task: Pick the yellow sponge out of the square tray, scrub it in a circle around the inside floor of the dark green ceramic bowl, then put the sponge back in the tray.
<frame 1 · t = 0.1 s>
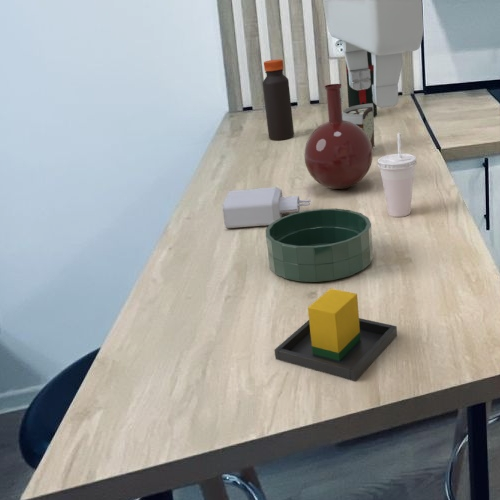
hand: (372, 96, 59), 29 cm above the table, tool pointing down, fingers open, 8 cm apart
food container: (357, 153, 153), on the table
square tray: (337, 350, 75), on the table
sponge: (336, 346, 75), resting on square tray
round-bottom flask: (340, 188, 130), on the table
basin: (321, 264, 98), on the table
wine bottle: (363, 117, 186), on the table
vinegar: (281, 138, 176), on the table
smoothie: (399, 214, 113), on the table
charger: (270, 219, 119), on the table
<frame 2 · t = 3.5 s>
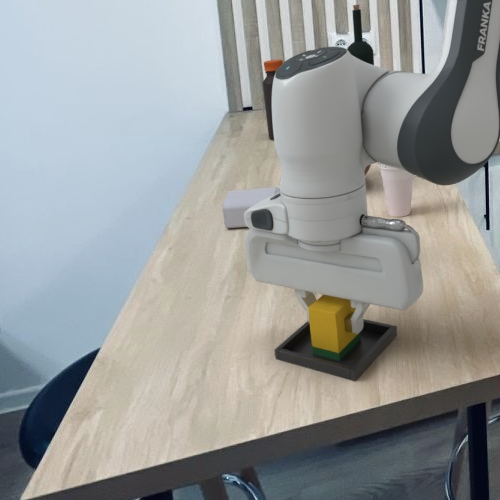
hand: (335, 326, 74), 3 cm above the table, tool pointing down, fingers closed on sponge, 3 cm apart
sponge: (337, 346, 75), resting on square tray, touching gripper
everything else where it was.
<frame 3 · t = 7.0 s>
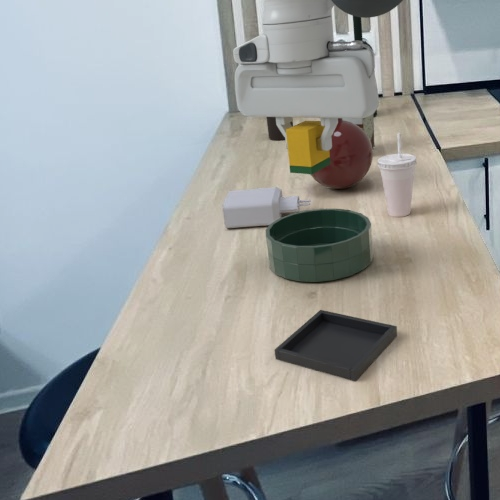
hand: (308, 149, 89), 18 cm above the table, tool pointing down, fingers closed on sponge, 3 cm apart
sponge: (310, 168, 90), point 15 cm above the table, touching gripper
everything else where it was.
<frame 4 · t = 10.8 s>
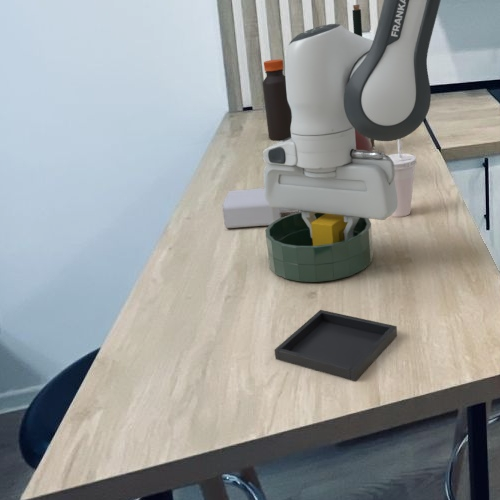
hand: (331, 239, 97), 3 cm above the table, tool pointing down, fingers closed on sponge, 3 cm apart
sponge: (332, 256, 98), point 1 cm above the table, touching gripper
everything else where it was.
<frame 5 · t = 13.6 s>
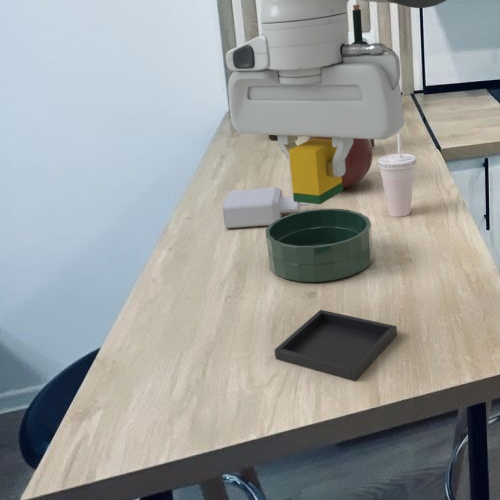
hand: (317, 173, 74), 19 cm above the table, tool pointing down, fingers closed on sponge, 3 cm apart
sponge: (318, 196, 75), point 17 cm above the table, touching gripper
everything else where it was.
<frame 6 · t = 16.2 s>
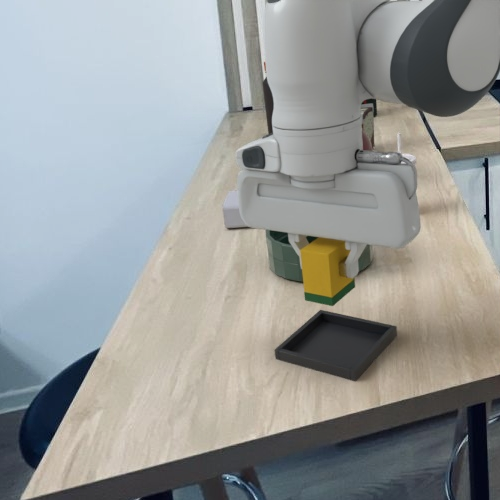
hand: (329, 271, 72), 10 cm above the table, tool pointing down, fingers closed on sponge, 3 cm apart
sponge: (330, 293, 72), point 7 cm above the table, touching gripper
everything else where it was.
when the fingers open (3 cm above the table, at t = 18.0 s): sponge stays where it is, resting on square tray.
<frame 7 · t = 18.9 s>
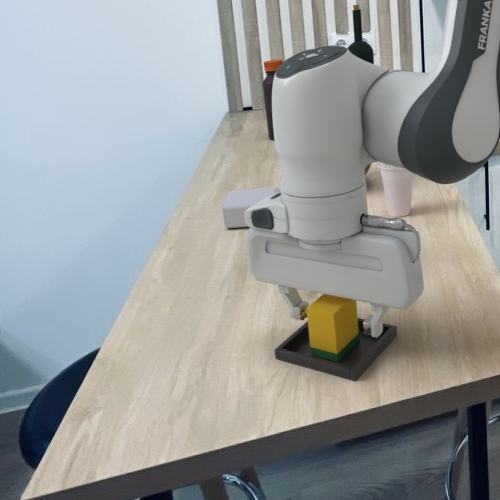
hand: (335, 325, 74), 3 cm above the table, tool pointing down, fingers open, 8 cm apart
sponge: (335, 347, 75), resting on square tray
everything else where it was.
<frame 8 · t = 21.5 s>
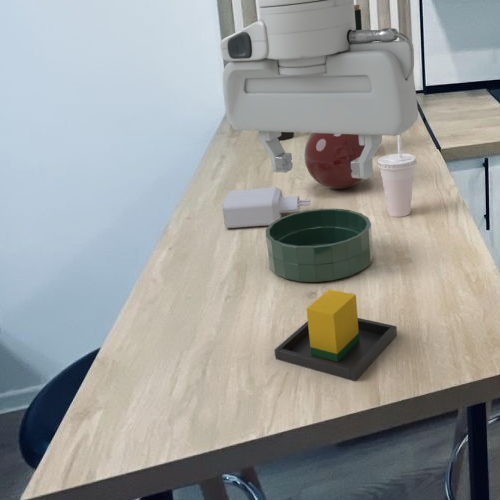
hand: (321, 174, 67), 21 cm above the table, tool pointing down, fingers open, 8 cm apart
nothing on the table moved.
at the end: sponge 0.2 cm off-centre in the square tray, point 0.5 cm above the square tray's base; the gripper is holding nothing; sponge touching square tray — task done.
